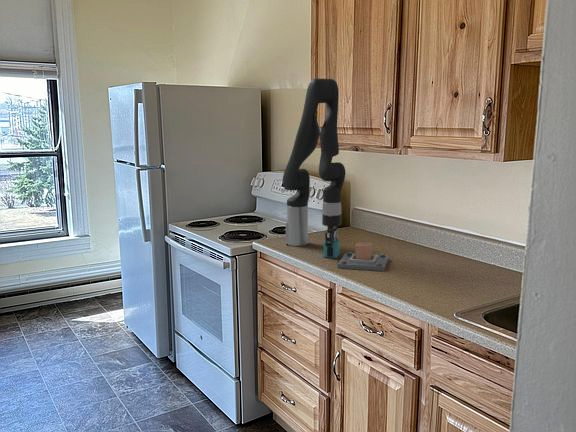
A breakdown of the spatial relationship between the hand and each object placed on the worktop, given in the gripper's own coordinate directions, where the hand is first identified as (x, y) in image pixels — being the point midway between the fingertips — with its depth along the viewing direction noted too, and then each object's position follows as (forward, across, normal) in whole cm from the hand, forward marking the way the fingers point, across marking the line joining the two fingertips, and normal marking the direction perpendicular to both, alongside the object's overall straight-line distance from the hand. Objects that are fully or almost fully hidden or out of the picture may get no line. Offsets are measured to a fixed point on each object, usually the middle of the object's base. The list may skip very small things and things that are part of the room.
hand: (331, 254), depth 213 cm
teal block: (+1, 0, 0) cm, 1 cm away
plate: (+1, +8, +14) cm, 16 cm away
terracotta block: (-1, +8, +14) cm, 16 cm away
